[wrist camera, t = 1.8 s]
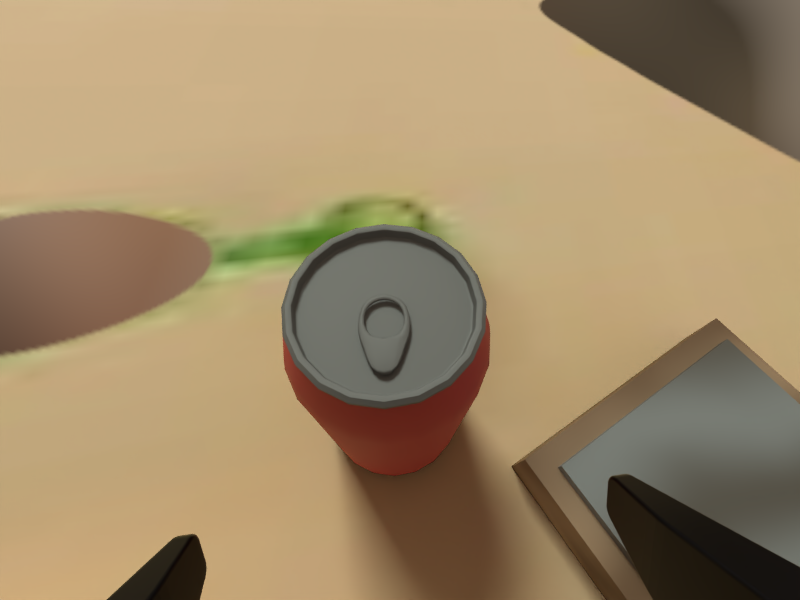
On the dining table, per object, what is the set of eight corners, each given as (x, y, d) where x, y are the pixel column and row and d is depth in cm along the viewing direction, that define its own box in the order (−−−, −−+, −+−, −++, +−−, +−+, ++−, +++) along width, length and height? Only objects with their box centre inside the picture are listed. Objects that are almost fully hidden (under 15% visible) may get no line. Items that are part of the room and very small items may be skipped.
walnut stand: (928, 565, 18) (1019, 573, 15) (742, 791, 15) (817, 852, 12) (686, 337, 23) (723, 314, 20) (511, 466, 20) (528, 458, 17)
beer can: (327, 478, 20) (240, 432, 9) (335, 352, 23) (276, 211, 12) (461, 475, 20) (527, 425, 9) (450, 350, 23) (490, 206, 12)
